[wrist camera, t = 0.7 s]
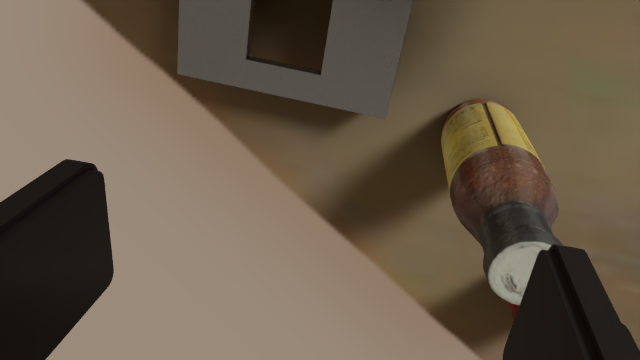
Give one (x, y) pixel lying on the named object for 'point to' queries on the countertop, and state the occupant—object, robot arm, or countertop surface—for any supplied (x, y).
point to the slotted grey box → (293, 81)
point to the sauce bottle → (499, 192)
